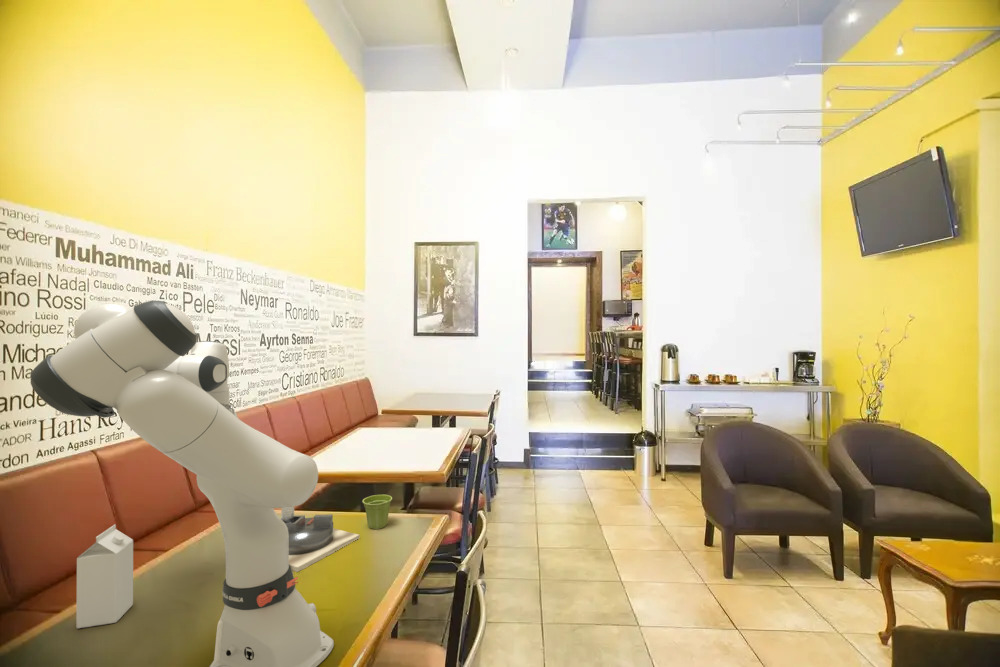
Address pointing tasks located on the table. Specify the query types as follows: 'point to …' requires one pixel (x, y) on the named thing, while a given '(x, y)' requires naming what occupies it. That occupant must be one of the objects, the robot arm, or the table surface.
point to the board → (322, 550)
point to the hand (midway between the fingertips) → (209, 455)
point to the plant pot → (377, 510)
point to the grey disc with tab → (309, 533)
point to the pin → (288, 514)
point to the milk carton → (105, 579)
